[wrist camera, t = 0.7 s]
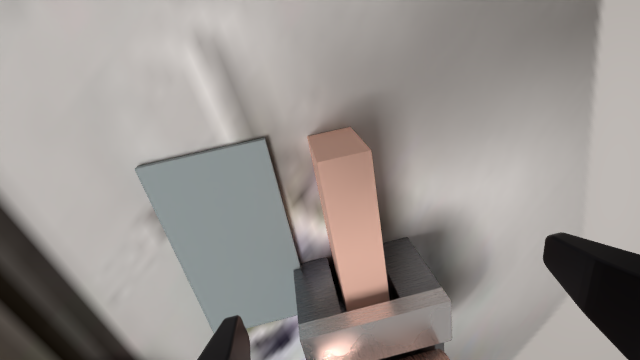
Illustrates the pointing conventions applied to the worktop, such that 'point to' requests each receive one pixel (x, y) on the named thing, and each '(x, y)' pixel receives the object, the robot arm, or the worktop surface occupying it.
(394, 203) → the worktop surface
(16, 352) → the worktop surface
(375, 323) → the dispenser
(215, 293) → the mat
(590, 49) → the worktop surface
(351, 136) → the salmon pink rectangular block
